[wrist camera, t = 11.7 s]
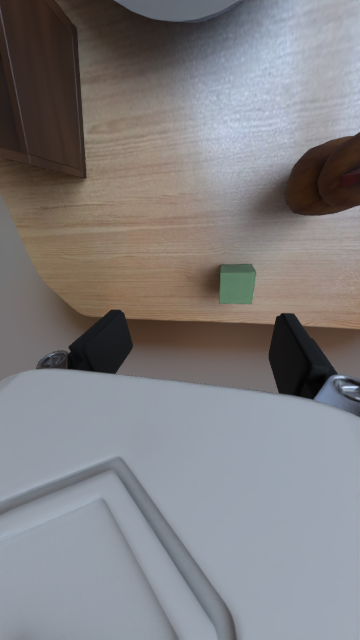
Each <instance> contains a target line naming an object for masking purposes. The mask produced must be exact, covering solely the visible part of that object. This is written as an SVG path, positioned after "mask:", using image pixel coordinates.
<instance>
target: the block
mask: <svg viewBox="0 0 360 640" xmlns="http://www.w3.org/2000/svg"><path fill="white" fill-rule="evenodd" d="M255 278H256V271H255V269H254V267H253V266H252V264H232V265H221V271H220V294H219V303H223V304H252V299H253V292H254V285H255Z"/></svg>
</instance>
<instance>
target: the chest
mask: <svg viewBox="0 0 360 640" xmlns="http://www.w3.org/2000/svg"><path fill="white" fill-rule="evenodd" d="M0 157H1V158H5V159H9V160H13V161H17V162H21V163H25V164H29V165H33V166H37V167H42V168H46V169H50V170H54V171H58V172H62V173H66V174H70V175H74V176H78V177H82V178H86V164H85V148H84V133H83V118H82V103H81V88H80V73H79V58H78V43H77V29H76V27H75V26H74V24H73V23H72V22H71V20H70V19H69V18H68V17H67V15H66V14H65V13H64V12H63V10H62V9H61V8H60V7H59V5H58V4H57V3H56V2H55V0H0Z"/></svg>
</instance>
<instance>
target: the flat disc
mask: <svg viewBox="0 0 360 640" xmlns="http://www.w3.org/2000/svg"><path fill="white" fill-rule="evenodd" d="M114 1H116V2H118V3H119V4H121V5H122V6H124V7H126V8H127V9H129V10H131V11H132V12H135V13H137V14H140V15H143V16H146V17H148V18H151V19H155V20H163V21H173V22H177V21H183V22H195V23H201V22H203V21H207V20H209V19H212V18H215V17H217V16H220V15H222V14H223V13H225V12H227V11H229V10H231V9H232V8H233V7H235V6H236V5H238V4H240V3H241V2H242V1H244V0H114Z"/></svg>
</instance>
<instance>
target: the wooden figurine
mask: <svg viewBox="0 0 360 640" xmlns="http://www.w3.org/2000/svg"><path fill="white" fill-rule="evenodd" d="M285 194H286V202H287V205H288V206H289V208H290V209H291V210H292V211H293V212H294V213H296V214H301V215H326V214H333V213H338V212H341V211H344V210H347V209H350V208H352V207H355V206H359V205H360V132H359V133H358V134H356V135H355V136H347V137H343V138H338V139H334V140H331V141H328V142H326V143H324V144H322V145H319V146H316V147H314V148H311V149H310V150H308V151H307V152H306V153H305V154H304V155H303V156H302V157H301V158H300V160H299V161H298V162H297V163H296V164H295V165H294V167H293V169H292V172H291V174H290V177H289V180H288V183H287V188H286V193H285Z"/></svg>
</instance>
